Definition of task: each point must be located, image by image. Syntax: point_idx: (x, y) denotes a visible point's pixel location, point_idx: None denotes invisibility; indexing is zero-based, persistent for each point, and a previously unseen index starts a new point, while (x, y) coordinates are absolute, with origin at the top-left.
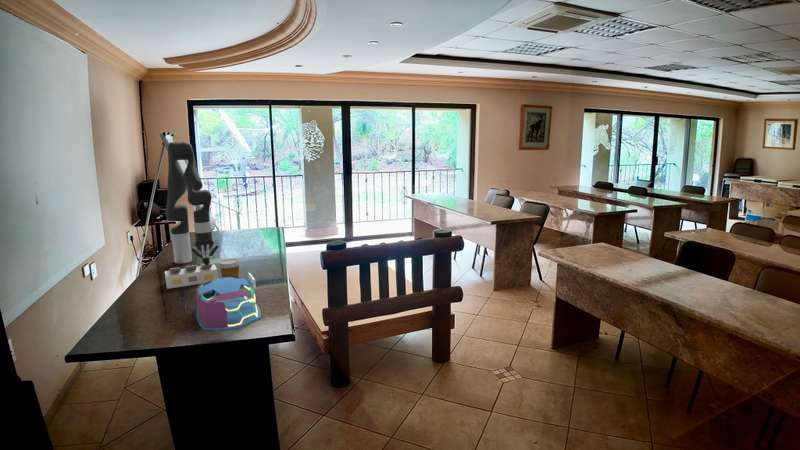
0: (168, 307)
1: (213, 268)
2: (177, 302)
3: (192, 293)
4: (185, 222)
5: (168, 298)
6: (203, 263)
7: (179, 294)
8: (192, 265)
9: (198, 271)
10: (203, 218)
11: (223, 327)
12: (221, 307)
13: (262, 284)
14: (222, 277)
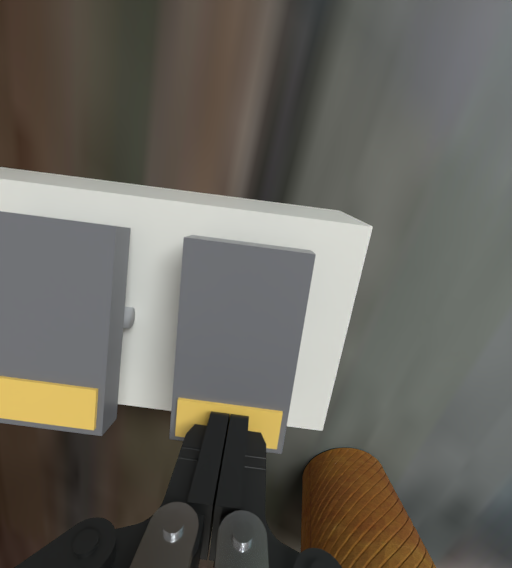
0: (16, 561)
1: (301, 383)
2: (50, 536)
3: (121, 476)
4: None
5: (3, 472)
6: (220, 280)
7: (54, 451)
8: (80, 251)
9: (149, 389)
10: None
11: None
12: None
13: (479, 559)
14: (302, 533)
